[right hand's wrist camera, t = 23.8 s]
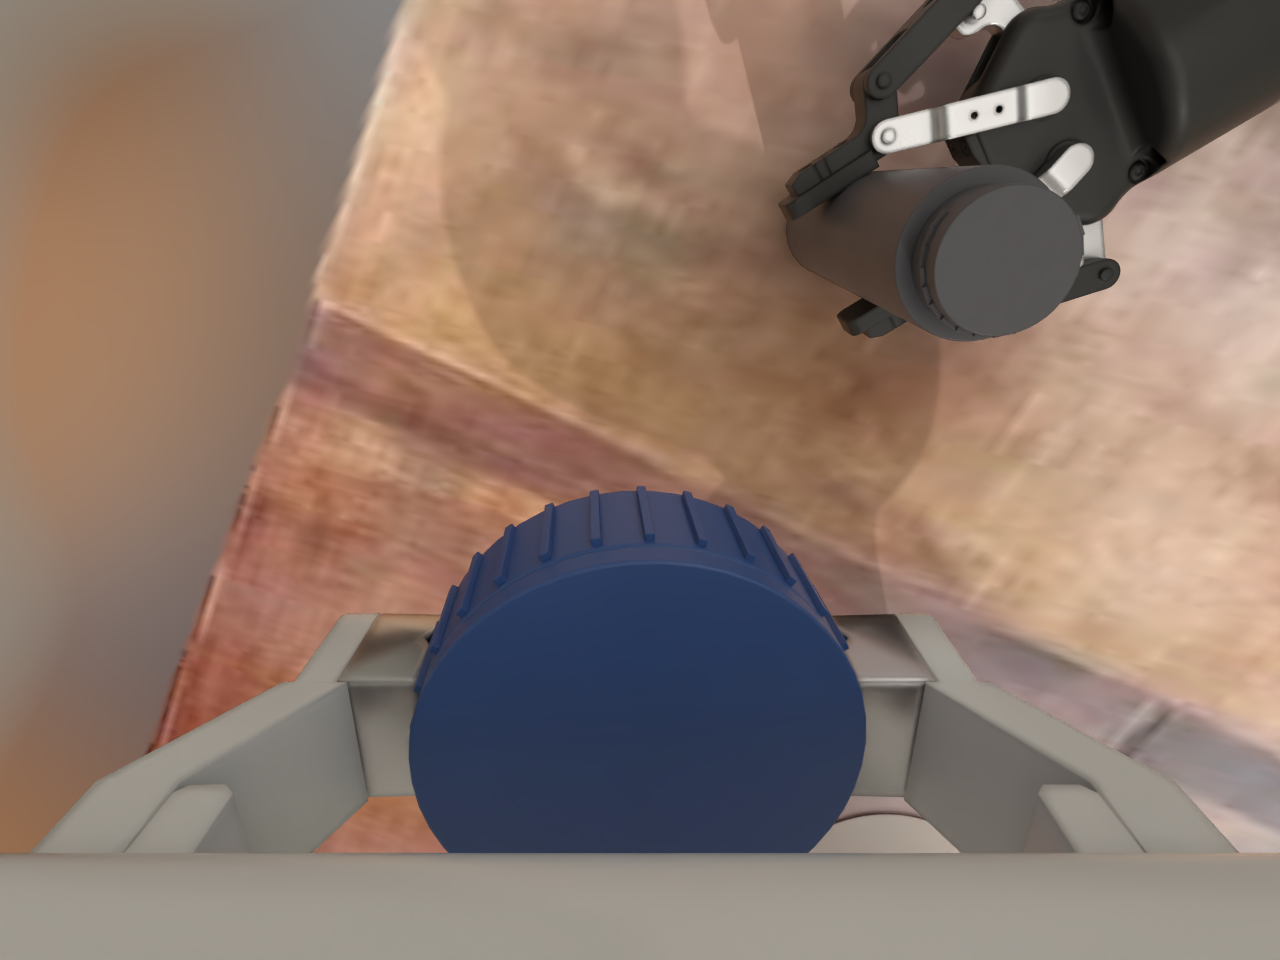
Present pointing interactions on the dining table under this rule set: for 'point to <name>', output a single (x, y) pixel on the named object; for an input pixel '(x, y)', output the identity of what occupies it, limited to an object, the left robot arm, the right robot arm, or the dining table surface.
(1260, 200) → the dining table surface
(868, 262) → the dark grey bottle
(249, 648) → the dining table surface
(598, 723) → the lid
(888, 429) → the dining table surface
